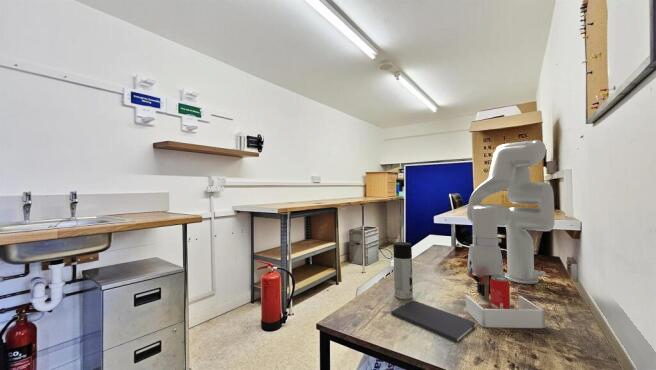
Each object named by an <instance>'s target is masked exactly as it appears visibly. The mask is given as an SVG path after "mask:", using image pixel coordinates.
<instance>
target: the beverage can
mask: <svg viewBox="0 0 656 370" xmlns="http://www.w3.org/2000/svg"><path fill="white" fill-rule="evenodd" d="M510 287H511V286H510V280H508V278H505V277H502V276H491V279H490V294H489V299H490V300H491V309H510V302H511V301H510V300H511V295H510V294H511V291H510Z"/></svg>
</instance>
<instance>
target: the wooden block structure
mask: <svg viewBox="0 0 656 370" xmlns="http://www.w3.org/2000/svg"><path fill="white" fill-rule="evenodd" d="M483 284H484V285H485V296H482V295H480V294H479V293H478V294H477V301H475V302H476V303H478V304H479V305H480V306H481V307H482V308H483V309H491V300H490V294H489V275H483ZM510 309H515V304H514V303H513V302H511V301H510Z"/></svg>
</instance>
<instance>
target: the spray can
mask: <svg viewBox="0 0 656 370" xmlns="http://www.w3.org/2000/svg"><path fill="white" fill-rule="evenodd" d="M412 250H413V249H412V243H411V242H407V241H405V242H404V241H396V242H394V243H393V281H394V283H393V284H394V286H393V287H394V296H395V297H396V298H397V299H399V300H406V301H407V300H411V299H413V293H414V291H413V254H412V253H413V252H412Z"/></svg>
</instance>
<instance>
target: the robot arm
mask: <svg viewBox="0 0 656 370" xmlns="http://www.w3.org/2000/svg"><path fill="white" fill-rule="evenodd" d="M546 153H547V148H546V145H545V143H544V142H543V141H542V140H540V139H539V140H538V139H535V140H525V141H518V142H517V141H516V142H507V143H503V144H499V145H498V146H497V147H496V148H495V151H494V152H493V154H492V158H491V162H490V167H489V173H488V175H487V179H486V180H485V181H483V182H481V184H479V186H477V187H476V188H475V189H474V191H473V192H472V193H471V195H470V197H469V200H468V205H467V211H466V215H467V219H468V220H469V222H471V223H472V244H469V249H468V257H467V271H466V273H465V274H466V276H467V277H469V278H471V279H473V280H474V281H475V282H476V289H477V293H478V295H479V294H480V295H482V296H485V285H484V284H483V275H489V295H490V279H491V276H502V277H505V278H508V281H509V282H510V281H511V282H515V283H517V284H518V283H519V284H523V285H524V284H525V285H534V284H535V285H536V284H538V283H539V278H538V277H546V276H547V273H546V272H545V271H544V270H542V271H541V270H540V271H539V270H537V269H535V267H534V266H535V263H534V261H535V258H534V257H535V256H534V239H533V237H532V236H531V234H530V233H529V232H528V231H537V232H551V231H552V230H553V229H554V227H555V196H554V189H553V187H552V185H551V184H550V183H548V182H544V181H531V170H530V169H529V168H530V167H534V166H535V167H536V165H538V164H539V163H540V162H542V160H543V159H545V157H546ZM504 190H507V193H506V194H507V200H508V202H510V203H511V204H516V205H517V204H518V205H534V206H535V205H537V206H538V207H527V206H525V207H524V206H513V207H509V206H507V205H503V204H489V203H487V204H486V203H482V202H483V201H484V200H485V199H486V198H487V197H489V196H491V195H494V194H496V193H499V192H502V191H504ZM499 226H500V227H504V226H505V231H506V258H507V259H506V261H507V264H506V265H507V266H506V267H507V272H505V271H504V264H503V256H502V251H501V247H500V246H499V243H502V238H499V237H498V227H499Z"/></svg>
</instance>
